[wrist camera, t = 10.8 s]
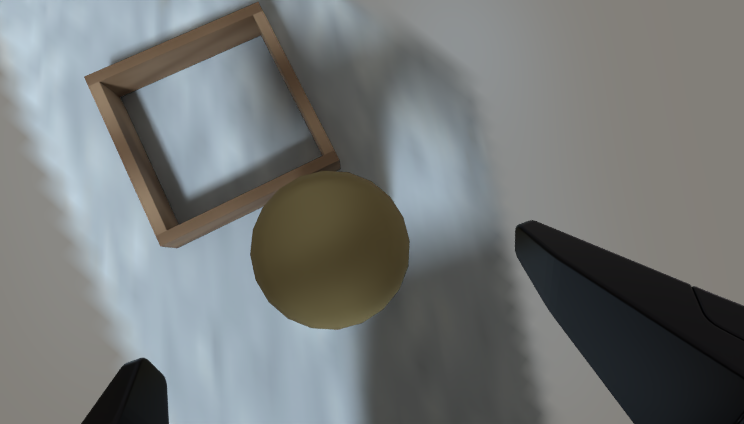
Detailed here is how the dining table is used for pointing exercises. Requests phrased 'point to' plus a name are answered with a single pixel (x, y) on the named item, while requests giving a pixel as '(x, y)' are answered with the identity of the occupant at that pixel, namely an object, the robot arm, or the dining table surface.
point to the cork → (330, 250)
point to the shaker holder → (173, 59)
